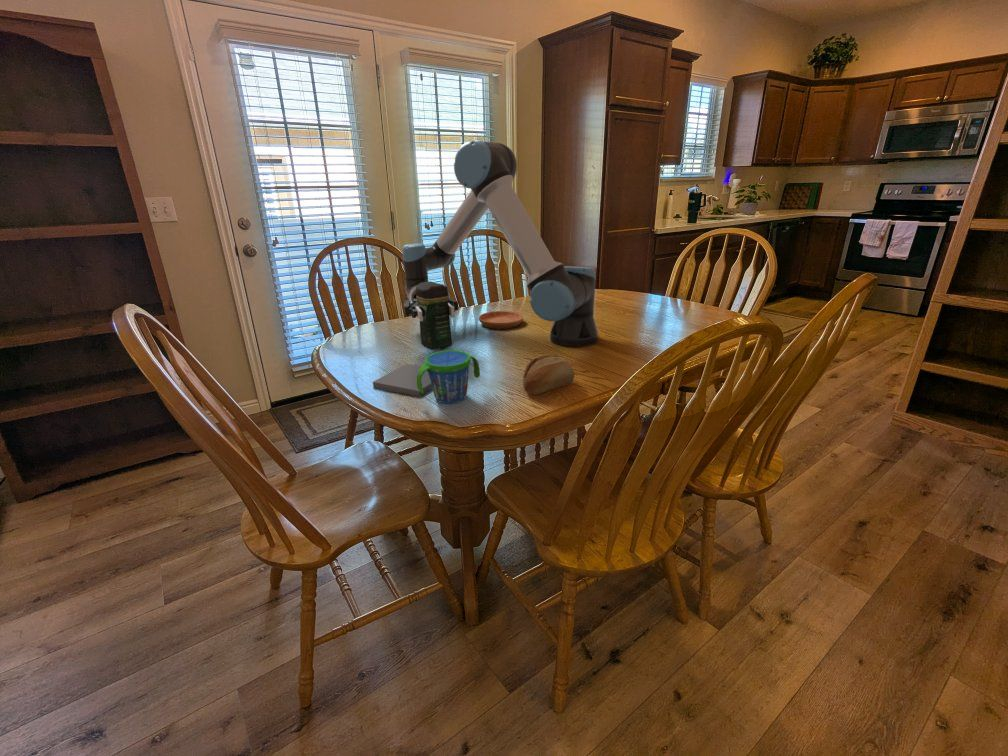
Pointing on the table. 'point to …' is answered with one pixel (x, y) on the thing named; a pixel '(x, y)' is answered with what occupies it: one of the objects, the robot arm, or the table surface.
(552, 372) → the bread roll
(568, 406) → the table surface
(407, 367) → the stand
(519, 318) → the saucer
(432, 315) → the coffee jar
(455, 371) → the snack cup
